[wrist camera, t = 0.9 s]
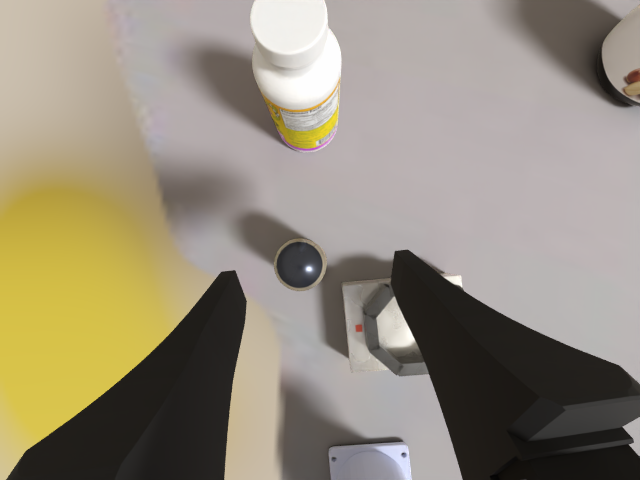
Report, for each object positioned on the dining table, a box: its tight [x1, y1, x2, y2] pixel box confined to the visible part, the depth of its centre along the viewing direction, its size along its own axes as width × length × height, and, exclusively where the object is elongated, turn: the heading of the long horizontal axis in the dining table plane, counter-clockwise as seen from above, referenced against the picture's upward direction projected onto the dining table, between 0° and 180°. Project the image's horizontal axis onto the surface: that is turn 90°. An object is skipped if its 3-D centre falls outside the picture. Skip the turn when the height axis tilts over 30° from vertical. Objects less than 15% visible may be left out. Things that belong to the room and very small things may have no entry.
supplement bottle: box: [250, 0, 341, 153], centre depth 21 cm, size 7×7×13 cm
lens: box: [274, 238, 327, 291], centre depth 23 cm, size 4×4×6 cm
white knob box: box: [341, 273, 464, 376], centre depth 24 cm, size 8×11×4 cm
